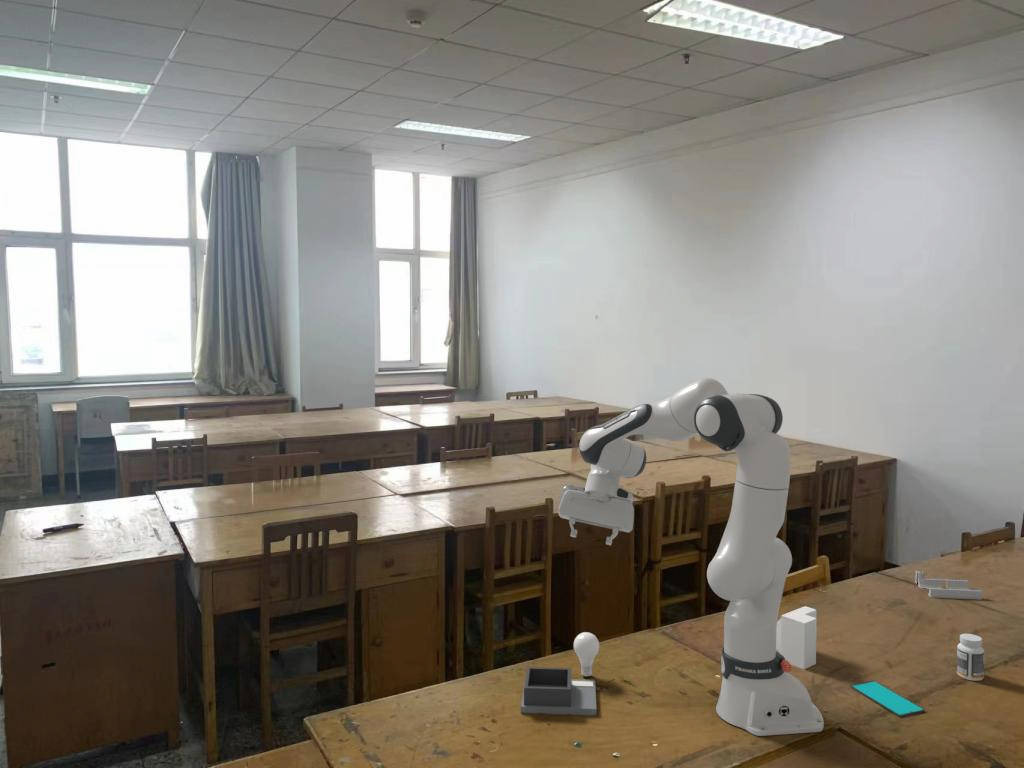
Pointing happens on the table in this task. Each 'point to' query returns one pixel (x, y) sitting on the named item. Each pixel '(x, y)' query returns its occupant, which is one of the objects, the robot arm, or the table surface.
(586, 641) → the lightbulb
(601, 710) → the table surface
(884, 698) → the smartphone
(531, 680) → the socket board
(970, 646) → the pill bottle
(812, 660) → the white notched block
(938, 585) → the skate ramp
